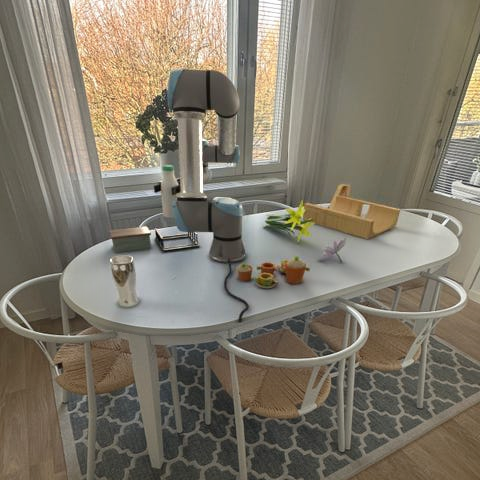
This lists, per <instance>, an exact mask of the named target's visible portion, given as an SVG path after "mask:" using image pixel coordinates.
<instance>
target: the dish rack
mask: <svg viewBox="0 0 480 480" xmlns="http://www.w3.org/2000/svg"><path fill="white" fill-rule="evenodd" d="M154 233H155V237H154V240H155V241H156V243H157V245H158V246H159V248H160V249H161V251H162V253H169V252H176V251H182V250H183V251H184V250H190V249H198V248H200V245H199V240H198V237H199V236H198V232H190V233H189V232H184V233H178V234H177V233H176V234H170V235H161V233H160V232H159V230H158V228H157V227H156V228H155V227H154ZM187 238H188V239H190V241H191V242H192V243H190V244H184V245H183V244H182V245H181V244H180V245H175V246H167V247H165V244H164V241H170V240H179V239H187Z"/></svg>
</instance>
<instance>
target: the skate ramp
mask: <svg viewBox="0 0 480 480" xmlns="http://www.w3.org/2000/svg"><path fill="white" fill-rule="evenodd" d="M351 185H352V182H348V183H347V181H344V182H343V180H341V181H340V184H339V185H338V186H337V188H336V190H335V192H334V195H333V197H332V200H331V201H330V204H329V205H324V206H322V205H318V204H316V203H314V202H312V203H310V201H309V200H308V199H305V200H303V201H304V202H303V210H304V209H305V212H306V213H304V214H303V215H302V220H303V221H307V220H309V219H313V220H312V221H310V222H309V223H313V222H315V223H314V224H316V225H319V226H322V227H326V228H329V229H332V230H335V231H339V232H341V233H342V232H343V233H346V234H349V235H352V236H356V237H359V238H362V239H365V240H369V239H372V238H374V237H376V236H377V235H380V234H381V233H384V232H386V231H388V230H391V229H393V228H395V227H397V225H398V220H399V217H400V214H401V213H400V212H401V208H402V205H399V208H398V207H397V205H395V206H393V207H392V205H393V203H390V205H389V204H388V202H387V201H385V204H383V203H382V202H384V201H380V202H379V200H378V199H376V203H375V202H374V200H375V199H374V198H372V199H370V200H369V199H368V200H365V198H366V197H364V196H363V198H362V197H361V198H360V197H359V198H357V195H354V197H350V195H351V187H352V186H351ZM364 204H365V205H369V207H368V210H367V212H366V215H364V214H362V213H363V207H364ZM388 205H389V206H388ZM326 206H327V207H326Z"/></svg>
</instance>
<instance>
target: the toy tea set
mask: <svg viewBox="0 0 480 480" xmlns="http://www.w3.org/2000/svg"><path fill="white" fill-rule="evenodd" d="M253 270H254V267H253V266H251V265H249V264H246V262H241V264H240V265H237V267H236V271H237V277H238V278H237V279H238V280H239V281H241V282H249V281H250V280H251V279H252V275H253ZM256 270H257V271H260V273H259V274H258V276H254V278H253V280H254V282H256V285H257V286H258V287H259V288H261V289H272V288H274V287H275V286H276V285H277V284H279V280H277V279H275V278H274V274H275V272H277V271H279V272H280V273H282V274H285V280H286V282H287V283H289V284H292V285H298V284H301V283H302V282H303V279H304V276H305V273H306V272H309V271H311V267H309V266H307V264H306V262H304V261H303V260H302V259H300V258H299V256H298V255H295V256H294V258H290V259H284V260H281V261H280V264H275V263H274V262H268V261H267V262H262V263H261V264H260V265H257V266H256Z"/></svg>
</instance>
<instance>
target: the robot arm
mask: <svg viewBox="0 0 480 480" xmlns="http://www.w3.org/2000/svg"><path fill="white" fill-rule="evenodd" d="M167 81H168V82H167V93H166V94H167V95H166V96H167V107H168V109H169V110H172V115H173V116H174V118H175V119H176V120H177V134H178V135H177V137H178V159H179V160H178V162H179V177H177V178H176V180H177V182H178V186H175V187H172V188H171V189H172V195H175V194H177V193H179V194H178V195H177V201H174V202H173V213H174V218H173V219H174V222H175V226H176V228H177V230H178V231H180V232H183V233H188V232H189V234H190V232H191V233H192V232H196V233H212V235H213V237H212V242H211V245H210V248H209V251H208V255H209V259H210V260H212V261H214V262H217V263H220V264H221V263H222V264H228V268H229V272H228V273H227V275H226V276H225V278H224V281H223V289H224V291H225V293H226V294H227V295H228V296H229V297H231V298H232V299H235V300H237V301H239V302H241V303H243V304H244V305H245V308H243V309H242V310H241V312H240V313H239V316H238V320H237V321H238V323H242V319H243V316H244V314H245V313H246V312H248V310H249V308H250V306H249V304H248V302H247V301H246V300H245V299H243V298H241V297H239V296H237V295H234V294H233V293H232V292H230V291H229V289H228V285H227V284H228V283H227V282H228V279H229V278H230V277H231V275H232V272H233V268H232V264H236V263H240V262H242V261H243V260H245V259H246V256H247V255H246V253H247V252H246V248H245V244H244V242H243V216H244V213H243V205H242V202H240V201H239V200H237V199H234V198H233V197H232V198H231V197H228V196H227V197H226V196H215V197H213V198H212V200H211V201H208V196H207V194H206V193H204V185H206V184H207V183H209V182H210V181H211V180H212V178H213V174H212V170H211V169H210V168H209V163H213V164H216V163H218V164H237V163H239V162H240V146H239V145H238V144H236V142H237V141H236V140H237V116H238V114H239V112H240V106H241V105H240V103H241V102H240V96H239V93H238V90H237V88H236V85H234V83H233V82H232V80H231V79H230V78H229V77H228V76H227V75H225V73H223V72H221V71H218V70H215V69H210V70H209V69H194V68H193V69H192V68H191V69H189V68H182V69H173V70H172V71H171V72H169V75H168V80H167ZM207 111H214V113H215V115H216V125H217V127H216V128H217V141H218V142H217V143H218V144H213V143H211V144H209V141H208V140H207V139H203V120H204V119H205V118H206V116H207V113H206V112H207ZM161 183H162V180H159V181H157V184H155V185H153V191H154V194H157V193H159V192H160V193H161ZM239 394H240V395H241V392H239Z"/></svg>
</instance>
